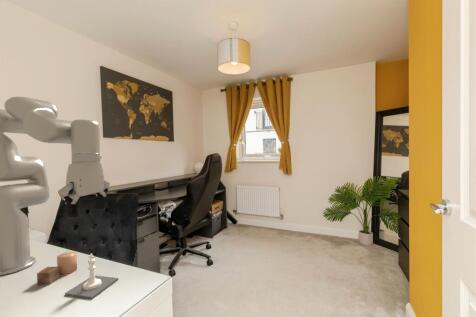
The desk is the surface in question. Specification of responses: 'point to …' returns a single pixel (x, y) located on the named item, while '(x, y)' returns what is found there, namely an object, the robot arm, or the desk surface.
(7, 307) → the desk surface
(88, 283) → the chess piece
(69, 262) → the peach rounded dome
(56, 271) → the walnut block
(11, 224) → the robot arm
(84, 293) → the coaster
